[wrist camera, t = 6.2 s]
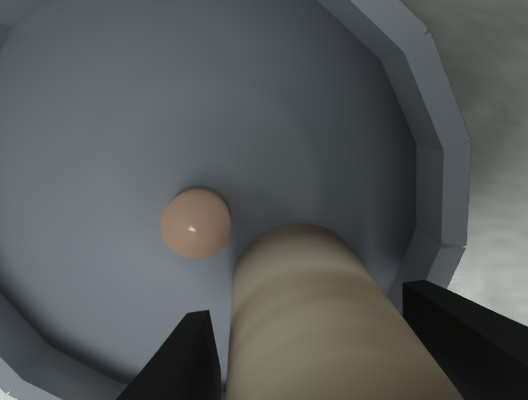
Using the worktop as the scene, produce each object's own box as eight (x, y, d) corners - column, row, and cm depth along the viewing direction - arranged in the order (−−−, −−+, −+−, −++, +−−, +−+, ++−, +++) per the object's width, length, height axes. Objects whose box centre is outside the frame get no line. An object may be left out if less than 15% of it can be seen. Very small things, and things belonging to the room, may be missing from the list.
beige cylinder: (386, 273, 12) (524, 437, 6) (303, 358, 12) (354, 578, 7) (289, 196, 11) (343, 303, 5) (206, 294, 11) (169, 485, 6)
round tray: (512, 165, 12) (580, 181, 9) (246, 444, 15) (247, 509, 12) (129, -200, 9) (85, -317, 6) (-117, 249, 11) (-212, 288, 9)
